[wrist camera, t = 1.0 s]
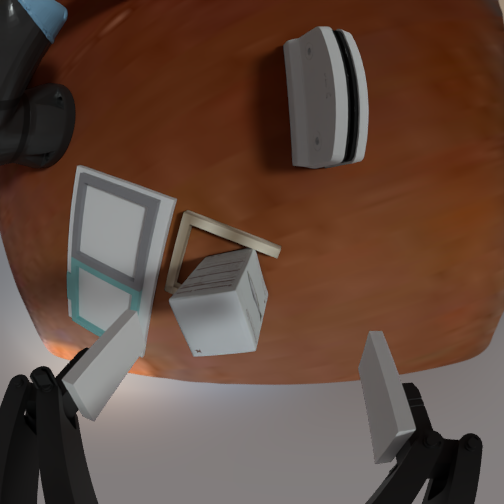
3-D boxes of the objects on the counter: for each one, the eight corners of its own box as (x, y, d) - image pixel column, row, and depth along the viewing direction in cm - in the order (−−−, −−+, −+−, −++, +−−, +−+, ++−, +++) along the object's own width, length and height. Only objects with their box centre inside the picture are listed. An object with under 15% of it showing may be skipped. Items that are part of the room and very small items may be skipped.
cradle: (168, 285, 41) (164, 290, 39) (187, 210, 36) (183, 212, 35) (249, 319, 40) (247, 324, 39) (281, 246, 36) (280, 250, 35)
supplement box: (269, 294, 38) (257, 354, 27) (219, 302, 40) (191, 358, 28) (256, 244, 36) (237, 289, 24) (203, 255, 38) (165, 300, 26)
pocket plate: (71, 313, 47) (65, 318, 45) (81, 165, 36) (73, 166, 34) (144, 354, 47) (140, 360, 45) (177, 199, 36) (170, 201, 34)
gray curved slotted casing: (282, 42, 27) (314, 8, 18) (317, 46, 28) (357, 17, 18) (292, 168, 32) (330, 173, 23) (327, 167, 33) (373, 173, 24)
